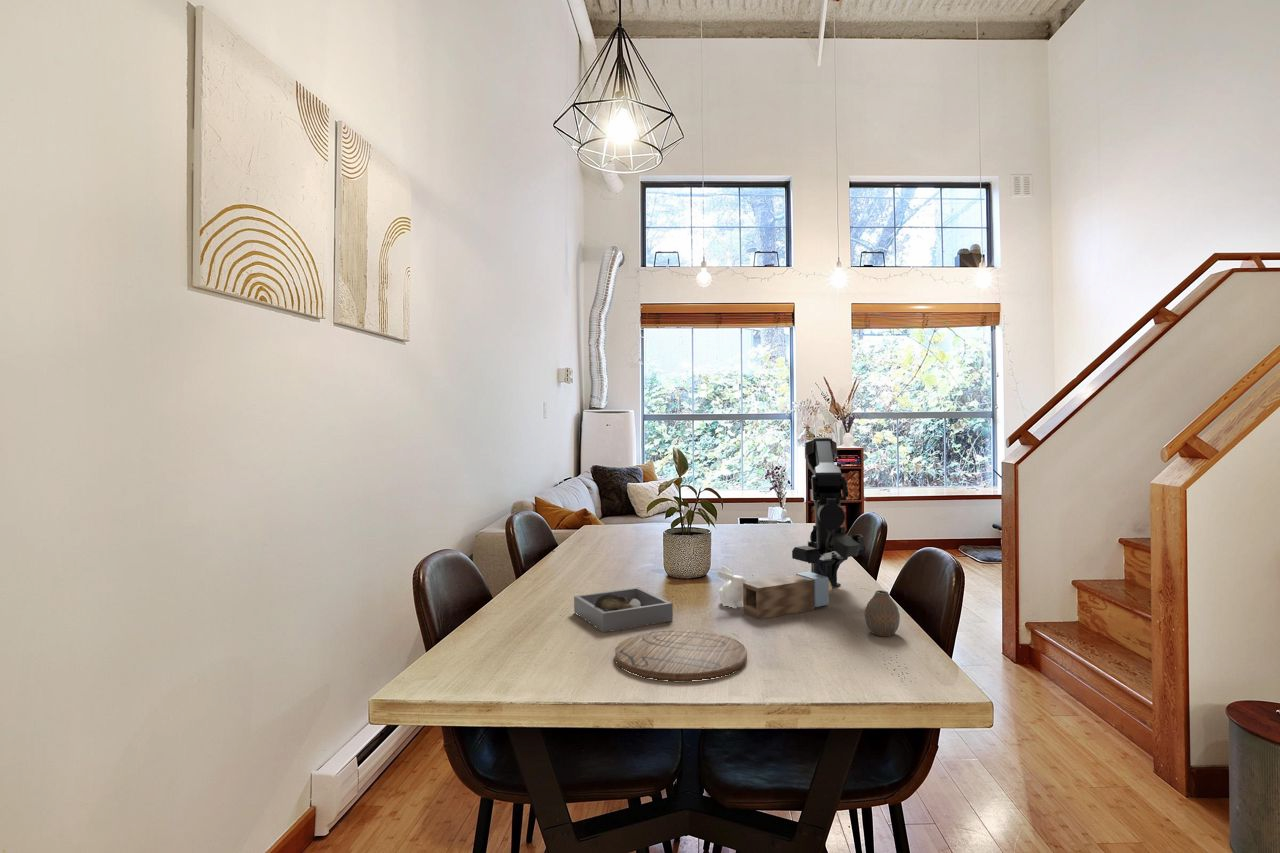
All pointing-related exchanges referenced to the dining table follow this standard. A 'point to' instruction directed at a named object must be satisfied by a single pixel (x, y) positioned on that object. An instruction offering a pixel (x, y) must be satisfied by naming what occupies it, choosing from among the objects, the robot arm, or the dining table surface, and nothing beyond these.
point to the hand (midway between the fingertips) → (829, 585)
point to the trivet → (681, 655)
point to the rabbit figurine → (731, 588)
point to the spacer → (818, 588)
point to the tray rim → (624, 610)
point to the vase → (882, 614)
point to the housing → (778, 596)
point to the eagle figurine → (615, 602)
